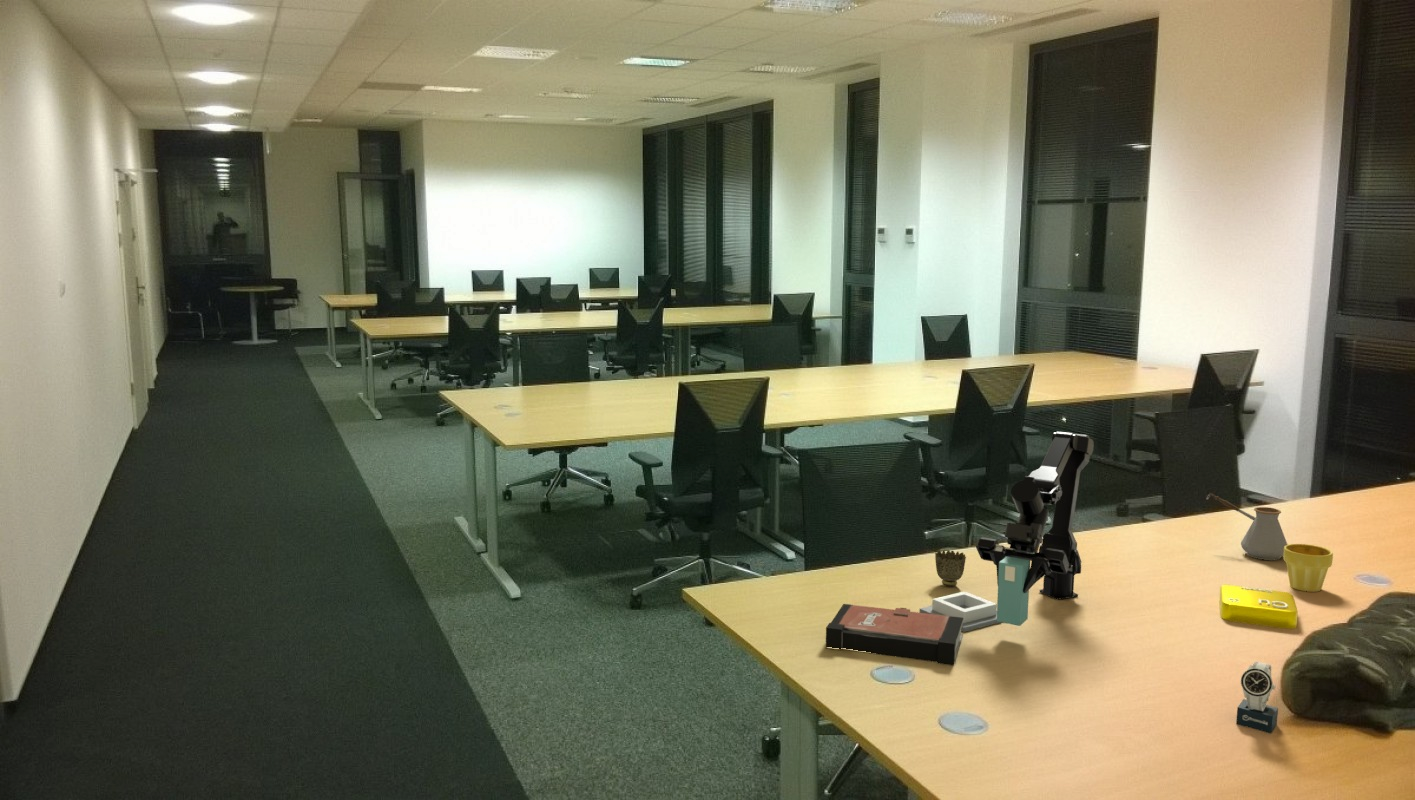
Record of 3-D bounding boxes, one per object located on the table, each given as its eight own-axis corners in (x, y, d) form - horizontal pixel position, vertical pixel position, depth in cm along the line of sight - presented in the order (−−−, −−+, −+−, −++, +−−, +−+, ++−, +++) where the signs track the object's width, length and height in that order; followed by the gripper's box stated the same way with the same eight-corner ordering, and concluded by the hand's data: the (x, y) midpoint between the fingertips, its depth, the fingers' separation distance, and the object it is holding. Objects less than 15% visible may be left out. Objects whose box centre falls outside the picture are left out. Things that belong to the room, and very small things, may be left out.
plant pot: (1283, 591, 248) (1287, 552, 247) (1278, 579, 258) (1281, 541, 257) (1333, 597, 245) (1336, 557, 243) (1325, 584, 254) (1329, 545, 253)
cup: (965, 591, 249) (966, 559, 248) (934, 589, 250) (935, 557, 249) (964, 581, 256) (965, 550, 255) (933, 579, 258) (934, 549, 256)
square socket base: (963, 601, 242) (964, 587, 241) (1009, 620, 230) (1010, 605, 229) (919, 612, 234) (919, 597, 234) (964, 632, 223) (964, 616, 222)
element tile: (1291, 610, 237) (1292, 590, 236) (1297, 632, 224) (1298, 610, 223) (1218, 600, 243) (1220, 581, 243) (1220, 621, 230) (1222, 601, 229)
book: (963, 636, 221) (964, 614, 221) (953, 667, 205) (954, 643, 204) (843, 622, 230) (844, 600, 229) (825, 650, 214) (826, 627, 213)
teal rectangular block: (1004, 614, 222) (1007, 556, 220) (1027, 619, 219) (1030, 560, 217) (996, 621, 217) (998, 562, 215) (1019, 626, 215) (1022, 566, 213)
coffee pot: (1293, 556, 277) (1298, 502, 275) (1280, 565, 269) (1285, 509, 267) (1210, 540, 292) (1214, 489, 290) (1195, 548, 284) (1199, 496, 282)
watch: (1233, 728, 178) (1238, 667, 176) (1244, 712, 184) (1249, 653, 183) (1269, 737, 175) (1274, 676, 173) (1279, 721, 181) (1284, 661, 179)
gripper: (980, 501, 223) (959, 562, 216) (1067, 513, 213) (1048, 579, 205) (991, 528, 231) (972, 588, 223) (1076, 541, 220) (1058, 605, 213)
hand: (1011, 589), depth 216 cm, fingers closed on teal rectangular block, 5 cm apart
